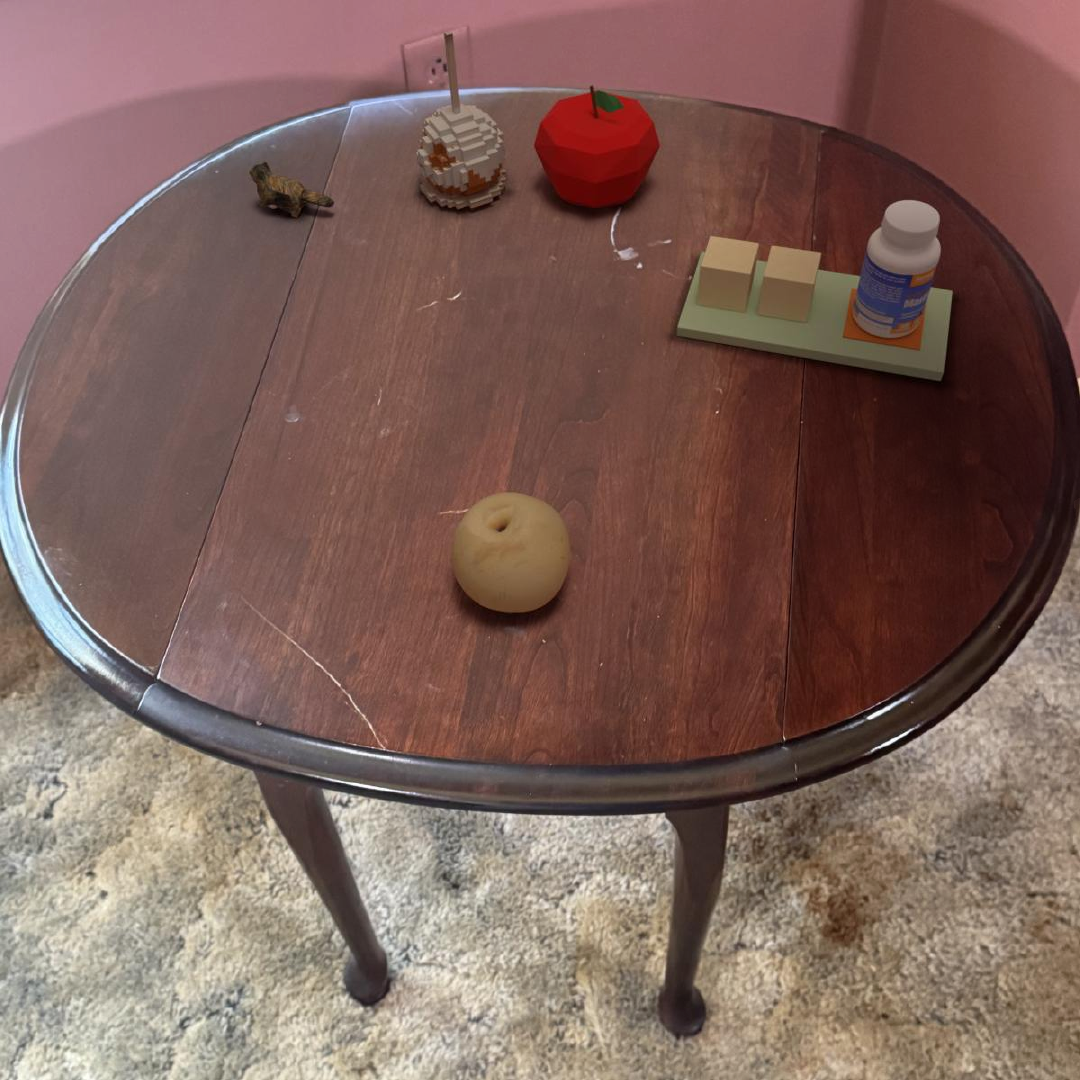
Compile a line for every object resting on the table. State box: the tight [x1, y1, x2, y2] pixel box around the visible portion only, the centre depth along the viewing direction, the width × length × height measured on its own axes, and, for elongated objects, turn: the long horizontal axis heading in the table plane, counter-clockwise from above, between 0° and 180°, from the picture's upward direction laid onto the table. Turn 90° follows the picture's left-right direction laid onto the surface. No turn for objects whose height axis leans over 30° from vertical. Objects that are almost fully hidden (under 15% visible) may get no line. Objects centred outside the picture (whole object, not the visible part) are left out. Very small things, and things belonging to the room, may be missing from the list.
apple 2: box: [533, 84, 661, 210], centre depth 100 cm, size 11×11×10 cm
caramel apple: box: [415, 30, 507, 210], centre depth 98 cm, size 8×8×15 cm
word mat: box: [676, 235, 954, 382], centre depth 90 cm, size 21×10×5 cm, turn 73°
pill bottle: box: [853, 199, 942, 338], centre depth 86 cm, size 5×5×10 cm
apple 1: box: [450, 491, 571, 613], centre depth 74 cm, size 8×8×8 cm
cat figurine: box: [249, 161, 335, 218], centre depth 102 cm, size 3×8×4 cm, turn 74°
